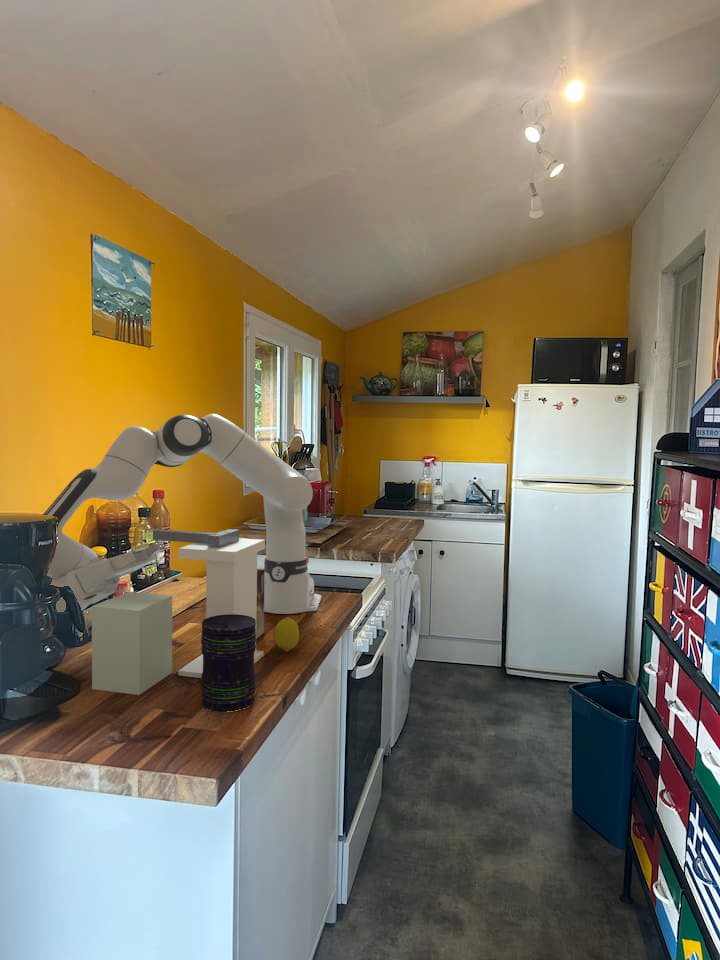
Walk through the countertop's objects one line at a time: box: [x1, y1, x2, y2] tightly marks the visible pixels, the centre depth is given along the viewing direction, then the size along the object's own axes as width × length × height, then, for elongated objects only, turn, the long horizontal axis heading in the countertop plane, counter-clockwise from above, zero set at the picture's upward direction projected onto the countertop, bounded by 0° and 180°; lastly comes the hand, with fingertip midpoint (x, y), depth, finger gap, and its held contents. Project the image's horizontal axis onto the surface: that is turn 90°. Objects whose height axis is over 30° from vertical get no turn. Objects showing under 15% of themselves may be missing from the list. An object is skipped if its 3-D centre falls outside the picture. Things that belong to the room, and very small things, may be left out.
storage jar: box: [200, 614, 257, 713], centre depth 118 cm, size 10×10×15 cm
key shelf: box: [177, 537, 266, 679], centre depth 137 cm, size 16×12×26 cm
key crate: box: [91, 591, 173, 696], centre depth 127 cm, size 12×10×16 cm
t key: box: [152, 528, 240, 548], centre depth 137 cm, size 10×17×2 cm, turn 77°
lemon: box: [274, 616, 300, 653], centre depth 147 cm, size 6×6×8 cm
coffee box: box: [256, 568, 265, 640], centre depth 156 cm, size 9×6×16 cm
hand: (146, 550), depth 140 cm, fingers open, 8 cm apart
